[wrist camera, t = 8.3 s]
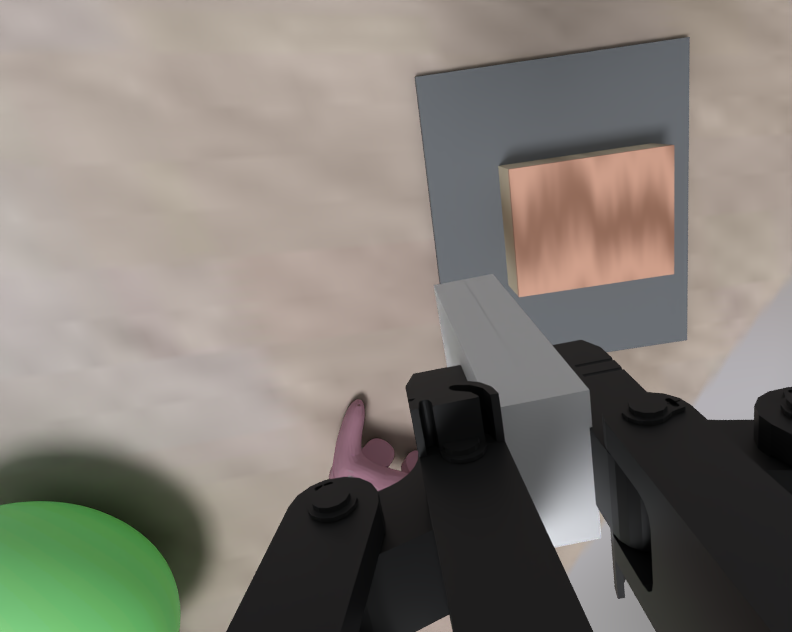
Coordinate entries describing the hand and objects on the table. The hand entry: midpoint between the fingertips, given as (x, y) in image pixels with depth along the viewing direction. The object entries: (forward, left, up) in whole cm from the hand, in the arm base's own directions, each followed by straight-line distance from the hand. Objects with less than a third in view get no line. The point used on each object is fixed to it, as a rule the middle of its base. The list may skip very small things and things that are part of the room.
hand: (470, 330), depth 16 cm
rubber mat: (+3, +10, -26) cm, 28 cm away
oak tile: (+3, +6, -24) cm, 25 cm away
